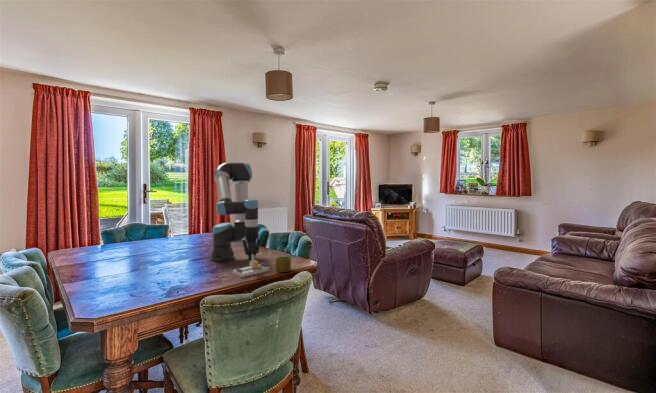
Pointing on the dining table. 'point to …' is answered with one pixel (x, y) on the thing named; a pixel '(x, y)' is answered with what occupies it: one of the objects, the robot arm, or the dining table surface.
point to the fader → (256, 264)
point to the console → (250, 270)
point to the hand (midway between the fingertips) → (251, 265)
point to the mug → (283, 264)
